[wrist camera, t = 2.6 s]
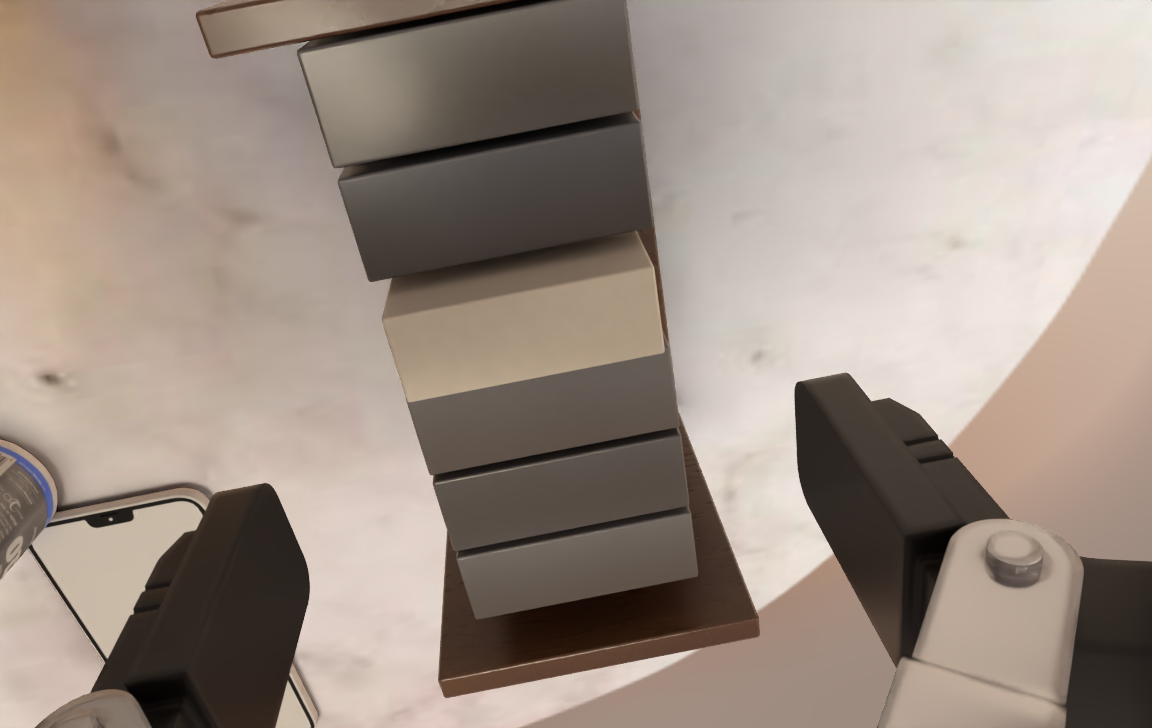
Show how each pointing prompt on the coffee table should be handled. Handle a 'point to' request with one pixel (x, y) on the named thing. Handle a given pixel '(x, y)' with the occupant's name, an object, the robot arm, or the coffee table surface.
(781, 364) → the coffee table surface
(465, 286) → the beige box
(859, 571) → the robot arm
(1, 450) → the pill bottle
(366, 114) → the brown book rack
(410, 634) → the coffee table surface
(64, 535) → the smartphone
